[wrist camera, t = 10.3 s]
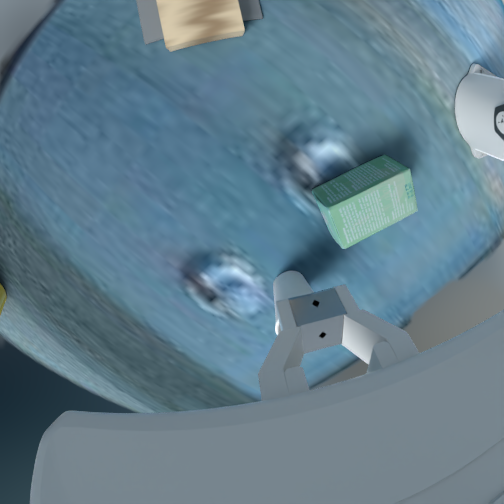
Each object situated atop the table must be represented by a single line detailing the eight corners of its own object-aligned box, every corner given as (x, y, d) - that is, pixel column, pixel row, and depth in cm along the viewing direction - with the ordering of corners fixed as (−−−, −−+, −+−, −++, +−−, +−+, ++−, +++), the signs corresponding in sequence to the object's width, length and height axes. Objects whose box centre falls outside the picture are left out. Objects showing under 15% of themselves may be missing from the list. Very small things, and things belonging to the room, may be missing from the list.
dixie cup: (255, 285, 48) (263, 328, 40) (292, 255, 46) (309, 295, 37) (285, 308, 52) (297, 349, 44) (320, 281, 50) (339, 321, 41)
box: (308, 189, 40) (326, 211, 34) (383, 152, 38) (411, 167, 32) (325, 227, 44) (343, 253, 38) (394, 191, 42) (419, 210, 35)
